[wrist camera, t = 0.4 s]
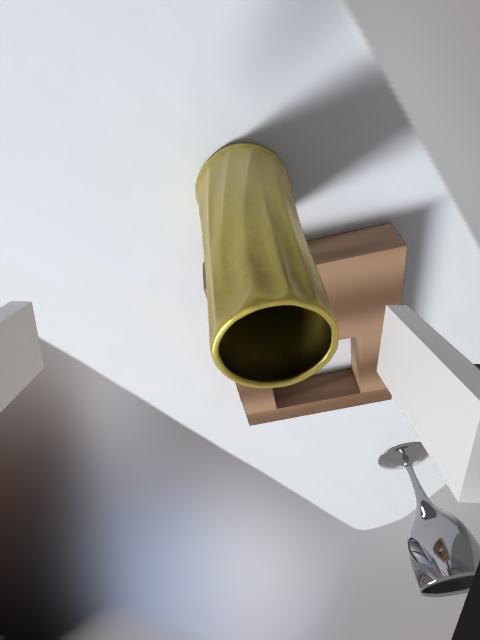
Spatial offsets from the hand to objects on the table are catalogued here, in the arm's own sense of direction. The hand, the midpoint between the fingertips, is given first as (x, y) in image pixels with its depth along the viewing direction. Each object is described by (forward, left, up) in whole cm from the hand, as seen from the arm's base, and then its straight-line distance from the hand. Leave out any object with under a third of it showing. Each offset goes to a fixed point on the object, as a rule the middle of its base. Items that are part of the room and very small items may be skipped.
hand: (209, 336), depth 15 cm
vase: (+2, +2, -15) cm, 15 cm away
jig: (+16, +5, -14) cm, 22 cm away
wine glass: (+44, +16, -15) cm, 49 cm away
